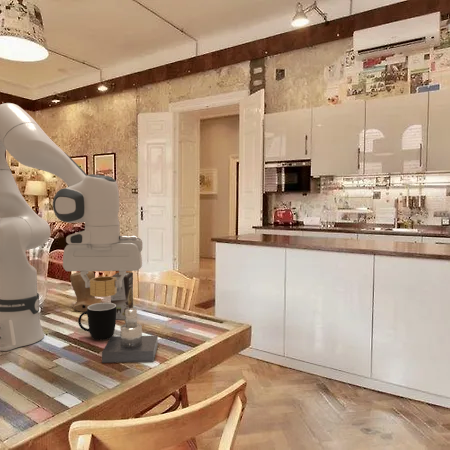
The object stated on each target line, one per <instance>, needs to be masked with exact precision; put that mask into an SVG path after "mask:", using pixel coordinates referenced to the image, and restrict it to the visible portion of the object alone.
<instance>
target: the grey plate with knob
mask: <svg viewBox="0 0 450 450" xmlns="http://www.w3.org/2000/svg"><path fill="white" fill-rule="evenodd" d="M124 321H125V323H124V324H122V325H121V326H120V336H119V335H118V336H117V335H115V336H114V335H113V336H111V338H110V339H108V341H107V343H106V344H105V346H104V348H103V350H102V351H101V363H102V364H104V363H105V364H106V363H107V364H109V363H111V364H113V363H114V364H115V363H144V362H146V363H149V362H150V363H151V362H152V363H153V362H154V361H155V357H156V353H157V350H158V345H159V344H158V343H159V341H158V337H159V335H143V328H142V327H143V326H142V324H140V323H138V310H137V308H135V307H133V308H128V309H126V310H125V320H124Z"/></svg>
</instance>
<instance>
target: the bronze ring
mask: <svg viewBox="0 0 450 450" xmlns="http://www.w3.org/2000/svg"><path fill="white" fill-rule="evenodd" d="M116 280H117V278H115V277H111V276H109V275H108V276H95V278H92V279H91V280H90V295H92V296H95V298H99V297H100V298H103V297H105V298H106V297H111V295H115V294H116V293H117V287H115V285H116V284H115V281H116Z"/></svg>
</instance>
